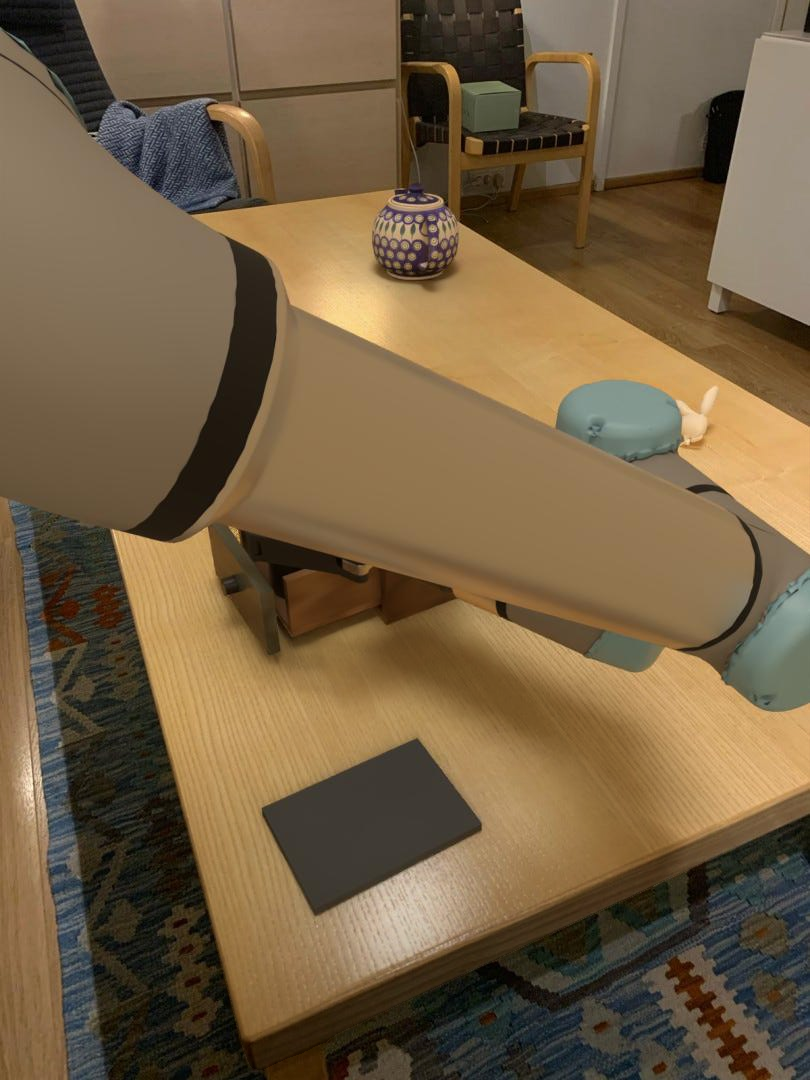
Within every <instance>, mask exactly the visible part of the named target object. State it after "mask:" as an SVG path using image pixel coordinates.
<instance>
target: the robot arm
mask: <svg viewBox="0 0 810 1080" xmlns="http://www.w3.org/2000/svg"><path fill="white" fill-rule="evenodd" d="M675 400H676V399H675V398H673V397H672V396H671V395H670V394H668V393H667V392H665V391H663V390H662V389H660V388H657V387H655V386H653V385H649V384H646V383H643V382H639V381H633V380H625V379H624V380H623V379H605V380H604V379H603V380H599V381H595V382H591V383H585V384H581V385H579V386H577V387H576V388H574V389H571V391H570V392H568V393H567V394H566V395H565V396H564V397H563V398H562V400H561V401H560V402H559V403H560V404H559V406H558V409H557V413H556V414H557V415H556V420H555V426H552V425H550V424H547V423H546V422H543V421H541V420H539V419H537V418H534V417H533V416H530V415H528V414H527V413H524V412H521V411H519V410H518V409H515V408H513V407H511V406H509V405H507V404H505V403H502V402H500V401H498V400H496V399H494V398H491V397H490V396H488V395H486V394H483V393H481V392H479V391H477V390H475V389H473V388H470V387H468V386H466V385H465V384H462V383H460V382H457V381H455V380H454V379H451V378H449V377H447V376H445V375H443V374H441V373H439V372H436V371H434V370H433V369H430V368H427V367H426V366H423V365H421V364H420V363H417V362H414V360H411V359H408V358H406V357H404V356H402V355H400V354H397V353H396V352H393V351H392V350H389V349H387V348H385V347H383V346H381V345H379V344H376V343H374V342H372V341H370V340H368V339H366V338H365V337H362V336H359V335H357V334H355V333H353V332H351V331H349V330H347V329H346V328H345V329H344V328H342V327H340V326H338V325H336V324H334V323H332V322H330V321H327V320H325V319H323V318H320V317H319V316H317V315H314V314H312V313H311V312H309V311H307V310H304V309H302V308H299V307H297V306H296V305H293V304H291V301H290V297H289V296H288V292H287V289H286V286H285V283H284V280H283V276H282V275H281V272H280V269H279V268H278V266H277V265H276V263H275V262H274V261H273V260H272V259H270V257H268V256H267V255H265V254H263V253H261V252H260V251H258V250H255V249H254V248H251V247H250V246H248V245H246V244H243V243H241V242H239V241H237V240H236V239H233V238H232V237H230V236H227V235H225V234H223V233H222V232H220V231H217V230H215V229H214V228H212V227H211V226H209V225H207V224H206V223H204V222H203V221H201V220H199V219H197V218H195V217H194V216H193V215H191V214H189V213H188V212H186V211H185V210H183V209H182V208H181V207H178V206H177V205H175V204H174V203H173V202H171V201H169V200H168V199H167V198H165V197H164V196H163V195H161V194H160V193H159V192H158V191H156V190H155V189H154V188H153V187H151V186H150V185H148V184H147V183H146V182H145V181H143V180H142V179H141V178H139V177H138V176H137V175H135V174H134V173H133V172H131V171H130V170H129V169H127V168H126V167H125V166H124V165H123V164H122V163H121V162H119V160H117V158H115V157H114V156H113V155H112V154H111V153H110V152H109V151H108V150H107V149H106V148H105V147H104V146H103V145H101V144H100V143H99V142H98V141H97V140H96V139H95V138H94V137H92V135H91V134H89V131H88V129H87V126H86V123H85V120H84V119H83V117H82V115H81V113H80V111H79V109H78V108H77V105H76V104H75V101H74V99H73V97H72V96H71V94H70V93H69V91H68V90H67V88H66V86H65V85H64V84H63V82H62V81H61V79H60V78H59V77H58V75H57V74H56V73H55V72H53V71H52V70H50V69H49V68H48V67H47V66H46V65H45V64H44V63H43V62H42V61H41V60H40V59H39V58H38V57H37V56H36V55H35V54H34V53H33V52H32V51H31V49H30V47H28V46H27V45H26V43H25V42H24V41H23V40H21V38H18V37H16V36H14V35H13V34H11V33H10V32H7V31H5V30H4V28H2V27H0V497H1V498H3V499H7V500H9V501H13V502H16V503H19V504H22V505H25V506H28V507H32V508H35V509H37V510H41V511H43V512H46V513H50V514H54V515H58V516H61V517H64V518H69V519H71V520H75V521H78V522H82V523H86V524H88V525H91V526H95V527H100V528H103V529H109V530H114V531H118V532H122V533H126V534H129V535H133V536H137V537H141V538H146V539H149V540H154V541H156V542H162V543H166V544H168V543H169V544H178V543H181V542H184V541H187V540H188V539H190V538H192V537H194V536H195V535H196V534H198V533H200V532H201V531H203V530H205V529H206V528H208V526H209V525H211V524H212V523H218V524H222V525H225V526H228V527H229V528H233V529H235V530H237V531H238V530H240V531H242V532H244V533H246V538H247V545H248V553H249V558H250V559H252V560H256V561H261V562H267V563H273V564H279V565H285V566H291V567H297V568H303V569H308V570H314V571H320V572H326V573H332V574H338V575H340V576H343V577H345V578H347V579H349V580H351V581H353V582H356V583H365V582H367V581H368V580H369V569H370V568H372V567H373V566H374V567H378V568H382V569H385V570H389V571H393V572H396V573H400V574H403V575H407V576H410V577H411V578H412V579H414V580H415V581H418V582H420V583H422V584H424V585H427V586H429V587H431V588H434V589H436V590H438V591H440V592H443V593H445V594H452V593H454V595H455V596H456V598H455V599H458V600H460V601H463V602H464V603H467V604H469V605H472V606H474V607H476V608H478V609H480V610H483V611H485V612H487V613H490V614H492V615H494V616H496V617H498V618H502V619H504V620H506V621H508V622H510V623H513V624H515V625H517V626H519V627H521V628H524V629H526V630H528V631H530V632H532V633H535V634H537V635H539V636H541V637H543V638H545V639H547V640H550V641H552V642H554V643H556V644H558V645H560V646H563V647H565V648H567V649H569V650H571V651H574V652H575V653H578V654H580V655H582V657H584V658H586V659H591V660H594V661H597V662H600V663H602V664H605V665H608V666H610V667H614V668H616V669H620V670H623V671H625V672H629V673H633V674H635V673H637V674H638V673H642V672H644V671H646V670H648V669H650V668H651V667H652V666H653V665H654V664H655V662H656V661H657V660H658V658H659V657H660V656H661V654H662V652H663V651H664V650H665V648H668V649H670V650H674V651H676V652H680V653H682V654H685V655H689V656H693V657H695V658H699V659H701V660H702V661H703V662H705V663H706V664H708V665H710V666H711V667H712V668H713V669H714V670H715V671H716V673H717V674H718V675H719V676H720V681H722V682H723V683H724V685H725V686H729V687H731V688H732V689H733V690H734V691H736V692H737V693H739V695H741V696H742V697H743V698H744V699H745V700H746V701H748V702H749V703H750V704H752V705H753V706H754V707H755V708H758V709H760V710H763V711H766V712H771V713H782V712H784V713H785V712H788V711H793V710H795V709H799V708H801V707H804V706H806V705H809V704H810V553H808V552H807V551H806V550H804V549H803V548H802V547H800V546H799V545H798V544H796V543H795V542H794V541H792V540H791V539H789V538H788V537H786V536H785V535H784V534H782V533H781V532H780V531H778V530H777V529H776V528H775V527H773V526H772V525H771V524H769V523H768V522H766V520H763V519H762V518H761V517H760V516H758V515H757V514H756V513H754V512H753V511H751V509H749V508H747V507H746V506H744V505H743V504H742V503H741V502H739V501H738V500H736V499H735V497H734V496H733V495H732V494H731V493H729V492H728V491H727V490H725V489H724V488H723V487H722V486H721V485H719V484H718V483H716V482H715V481H714V480H713V479H711V478H710V477H709V476H707V475H706V474H705V473H703V472H702V471H701V470H699V469H698V468H697V467H695V466H694V465H693V464H692V463H690V462H689V461H687V460H686V459H685V458H683V457H682V456H681V455H680V454H679V447H680V446H679V445H680V444H681V443H682V442H683V440H684V439H683V437H682V435H681V432H682V417H683V416H682V415H681V413H680V411H679V408H678V406H677V402H676V401H675Z"/></svg>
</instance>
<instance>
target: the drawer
mask: <svg viewBox="0 0 810 1080" xmlns="http://www.w3.org/2000/svg"><path fill="white" fill-rule="evenodd" d="M237 531H238V537H239V539H238V537H237V536H236V535H235V534H234V533H233V531H232V529H231V527H229V526H225V525H222V524H218V523H212V524H211V525H209V526H208V527H207V532H208V537H209V543H210V549H211V555H212V559H213V567H214V573H215V575H216V577H217V579H218V580H219V585H220V589H221V591H222V594H223V595H224V597H230V599H231V600H232V602H233V604H234V605H235V607H236V608H237V609H238V612H239V613H240V614H241V616H242V617H243V619H244V620H245V622H246V624H247V625H248V627H249V628H250V630H251V632H252V633H253V635H254V636H255V638H256V640H257V641H258V643H259V644H260V645H261V647H262V649H263V650H264V652H265V653H266V655H267V656H268V657H270V656H272V655H276V654H278V653H280V652H281V651H282V650H281V641H280V633H279V625H278V620H279V621H280V622H281V623H282V625H283V626H284V627H285V629H286V632H288V633H289V635H290V637H292V638H294V637H297V636H300V635H302V634H305V633H308V632H311V631H314V630H317V629H319V628H321V627H323V626H326V625H329V624H331V623H334V622H336V621H340V620H343V619H345V618H348V617H350V616H353V615H356V614H358V613H362V612H364V611H367V610H369V609H373V608H372V607H375V606H378V605H380V604H382V600H381V568H378V567H374V566H373V567H372V568H370V569H369V580H368V581H367V582H365V583H356V582H353V581H351V580H349V579H347V578H345V577H343V576H340V575H338V574H332V573H326V572H320V571H314V570H308V569H303V570H300V571H297V572H295V573H292V574H289V575H286V576H283V586H284V595H285V599H283V598H281V597H279V596H277V595H276V594H275V593H274V590H273V589H272V587H271V585H270V577H269V569H268V563H267V562H261V561H256V560H252V559H250V558H249V553H248V545H247V538H246V533H244V532H242V531H240V530H237Z"/></svg>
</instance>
